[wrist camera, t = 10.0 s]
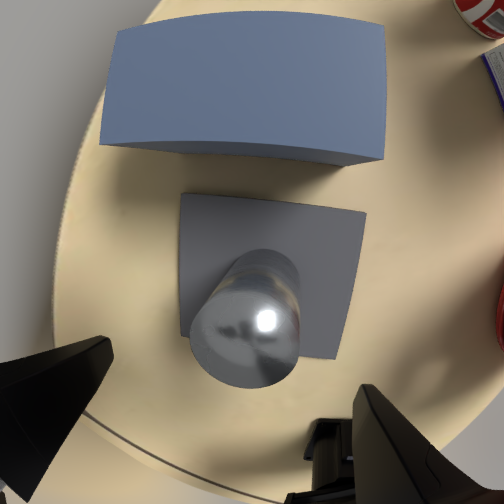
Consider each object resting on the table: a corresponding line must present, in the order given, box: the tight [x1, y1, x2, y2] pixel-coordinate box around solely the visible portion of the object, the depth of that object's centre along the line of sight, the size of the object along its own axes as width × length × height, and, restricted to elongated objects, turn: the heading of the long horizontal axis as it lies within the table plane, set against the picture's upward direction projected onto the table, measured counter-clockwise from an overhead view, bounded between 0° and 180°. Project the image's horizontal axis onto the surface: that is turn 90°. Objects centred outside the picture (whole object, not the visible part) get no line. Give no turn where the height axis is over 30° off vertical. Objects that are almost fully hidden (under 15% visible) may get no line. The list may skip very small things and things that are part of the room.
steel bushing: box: [190, 249, 300, 389], centre depth 14 cm, size 4×4×7 cm
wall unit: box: [99, 11, 387, 166], centre depth 12 cm, size 5×10×8 cm, turn 85°
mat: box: [179, 193, 367, 360], centre depth 18 cm, size 10×11×1 cm
